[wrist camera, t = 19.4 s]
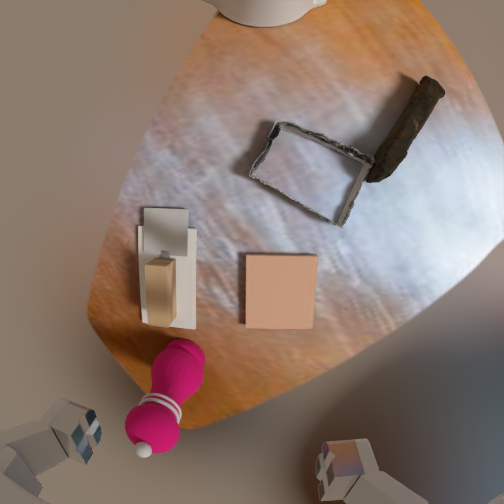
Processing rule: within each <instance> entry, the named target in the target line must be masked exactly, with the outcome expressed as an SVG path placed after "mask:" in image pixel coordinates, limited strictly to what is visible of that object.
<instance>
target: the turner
mask: <svg viewBox="0 0 504 504" xmlns="http://www.w3.org/2000/svg"><path fill="white" fill-rule="evenodd" d="M188 216H189V209H170V208H144V254H158V255H161V258H158V257H156V258H154V259H153V260H151V261H150V262H148V263H147V264H145V286H146V303H147V317H148V325H153V326H160V327H167V328H169V326H170V325H171V323H172V322H173V320H174V319H175V317H176V316H177V305H176V259H171V258H170V255H171V256H185V257H187V256H188Z"/></svg>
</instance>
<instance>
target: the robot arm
mask: <svg viewBox="0 0 504 504" xmlns="http://www.w3.org/2000/svg"><path fill="white" fill-rule="evenodd" d="M203 1H205V2H208V3H210V4H213V5H214V6H215V7H216V8H217V9H218V10H219V11H220V12H221V13H222V14H223V15H224V16H225V17H227V18H229V19H230V20H232V21H235V22H237V23H240V24H244V25H249V26H256V27H272V26H280V25H284V24H287V23H290V22H293V21H295V20H297V19H299V18H300V17H302V16H303V15H304V14H305V13H306V12H308V11H309V10H310V9H312V8H315V7H319V6H322V5H324V4H326V2H327V0H203ZM96 417H97V416H96V413H95V411H94V410H92V409H89V408H87V407H84V406H81V405H79V404H77V403H74V402H72V401H69V400H67V399H64V398H62V397H60V398H58V399H57V400H56V401H55V402H54V403H53V404H52V406H51V407H50V408H49V409H48V410H47V411H46V413H45V414H44V415H43V416H42V418H41V419H40V420H39V421H37V420H34V421H31V422H28V423H25V424H22V425H19V426H16V427H13V428H10V429H6V430H3V431H0V504H49V503H47V502H45V501H44V500H42V499H40V498H39V497H38V495H39V494H40V492H41V490H42V488H43V487H42V484H41V483H40V482H39V481H38V479H37V478H36V477H35V476H37V475H39V474H41V473H43V472H45V471H47V470H48V469H50V468H52V467H54V466H56V465H58V464H59V463H61V462H63V461H65V460H66V459H68V457H69V458H71V459H73V460H76V461H78V462H81V463H83V464H87V463H88V461H89V459H90V458H91V456H92V454H93V451H92V448H93V447H95V446H97V445H98V443H99V442H100V439H101V434H102V432H101V426H100V424H99V423H98V422H97V421H96V420H95V418H96ZM322 452H323V453H321V454H320V455H319V456H318V459H317V462H316V476H317V478H318V479H319V480H320V481H321V482H320V484H319V486H318V490H319V497H320V501H330V500H340V499H344V501H345V503H346V504H429V503H428V501H426V500H425V499H423V498H421V497H420V496H419V495H417V494H415V493H414V492H412V491H411V490H409V489H408V488H406V487H405V486H404V485H402V484H401V483H399V482H398V481H396V480H395V479H393V478H392V477H390V476H389V475H388V474H386V473H385V472H383V471H382V472H379V469H378V466H377V463H376V460H375V457H374V454H373V452H372V449H371V446H370V443H369V441H368V440H367V439H358V440H344V441H333V442H325V443H324V444H323V446H322ZM487 504H504V493H503V494H502V495H500V496H498V497H497V498H495V499H494V500H492V501H490V502H488V503H487Z"/></svg>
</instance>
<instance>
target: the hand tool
mask: <svg viewBox="0 0 504 504" xmlns="http://www.w3.org/2000/svg"><path fill="white" fill-rule="evenodd" d="M444 95H445V90H444V89H443V88H442V86H441V85H440V84H439V83H438V81H436V80H434V79H432V78H430V77H428V76H424V77H423V78H422V80H421V81H420V85H419V86H418V87H417V90H416V92H415V94H414V95H413V96H412V98H411V100H410V103H409V104H408V106H407V107H406V109H405V110H404V111H403V113H402V115H401V117H400V118H399V120H398V121H397V123H396V125H395V126H394V127H393V129H392V131H391V132H390V134H389V135H388V137H387V138H386V140H385V141H384V142H383V144H382V145H381V146H380V147H379V149H378V150H377V152H376V154H375V156H374V159H375V162H374V163H372V167H371V168H370V169H369V173H368V176H367V179H366V182H368V183H372V182H380V181H381V180H383V179H385V178H387V177H389V176H390V175H391V174H392V173H393V172H394V171H395V170H396V168H397V166H398V165H399V164H400V163H401V162H402V161H403V159H404V158H405V157H406V155H407V150H408V149H409V147H410V145H411V143H412V142H413V140H414V139H415V138H416V136H417V134H418V133H419V132H420V130H421V128H422V127H423V125H424V124H425V122H426V120H427V119H428V117H429V115H430V114H431V112H432V111H433V109H434V107H435V105H436V103H437V102H438V100H439V99H440V98H442V97H444Z"/></svg>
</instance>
